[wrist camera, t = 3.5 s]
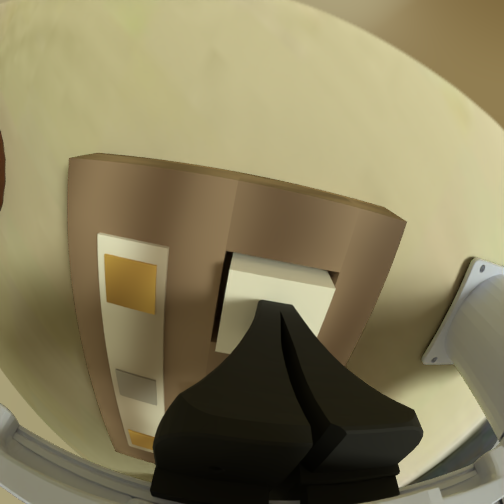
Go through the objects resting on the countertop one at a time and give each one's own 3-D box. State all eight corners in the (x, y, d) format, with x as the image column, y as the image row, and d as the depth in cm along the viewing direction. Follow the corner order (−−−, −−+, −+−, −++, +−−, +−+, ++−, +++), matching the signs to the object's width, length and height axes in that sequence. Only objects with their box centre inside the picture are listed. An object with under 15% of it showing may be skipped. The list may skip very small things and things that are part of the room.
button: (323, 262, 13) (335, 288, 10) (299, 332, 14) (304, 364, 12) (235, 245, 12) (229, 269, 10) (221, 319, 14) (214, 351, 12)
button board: (384, 207, 12) (410, 224, 10) (268, 461, 21) (268, 484, 19) (97, 153, 12) (65, 158, 9) (122, 432, 21) (114, 453, 18)
